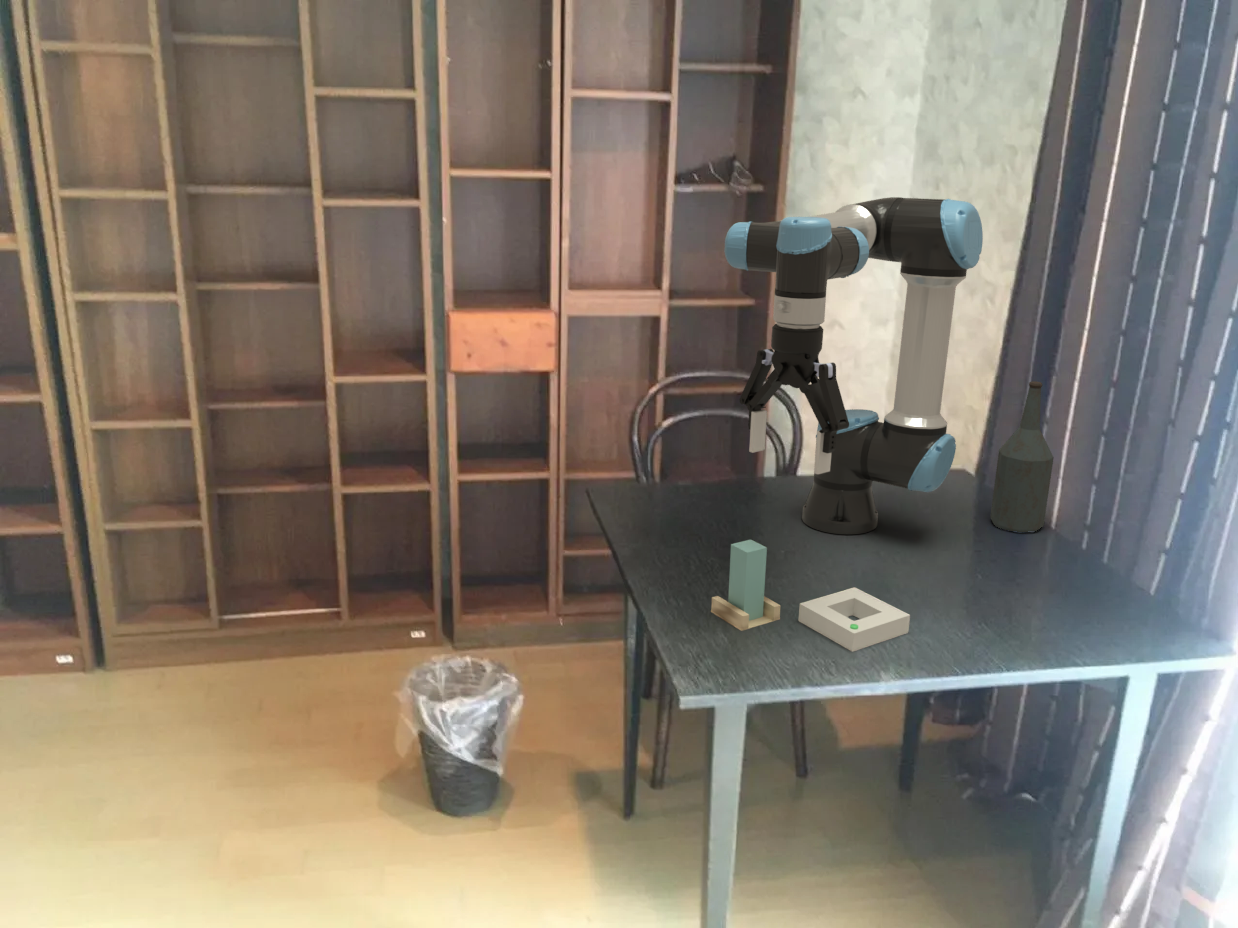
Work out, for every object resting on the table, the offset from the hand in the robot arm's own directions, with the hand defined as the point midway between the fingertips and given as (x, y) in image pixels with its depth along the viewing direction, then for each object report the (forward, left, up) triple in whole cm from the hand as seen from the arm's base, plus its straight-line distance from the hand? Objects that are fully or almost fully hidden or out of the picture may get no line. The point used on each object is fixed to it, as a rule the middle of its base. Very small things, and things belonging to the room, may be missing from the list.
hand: (788, 461), depth 158 cm
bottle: (-8, +71, -28) cm, 77 cm away
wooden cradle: (-2, -5, -27) cm, 28 cm away
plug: (-2, -5, -26) cm, 26 cm away
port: (+10, +7, -27) cm, 30 cm away
